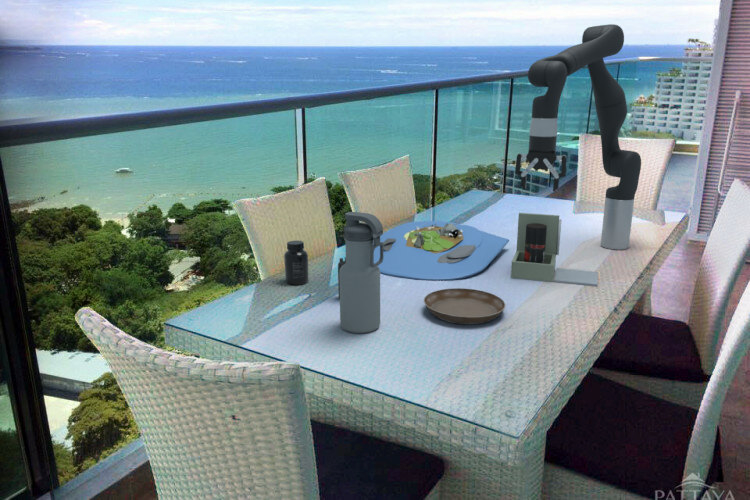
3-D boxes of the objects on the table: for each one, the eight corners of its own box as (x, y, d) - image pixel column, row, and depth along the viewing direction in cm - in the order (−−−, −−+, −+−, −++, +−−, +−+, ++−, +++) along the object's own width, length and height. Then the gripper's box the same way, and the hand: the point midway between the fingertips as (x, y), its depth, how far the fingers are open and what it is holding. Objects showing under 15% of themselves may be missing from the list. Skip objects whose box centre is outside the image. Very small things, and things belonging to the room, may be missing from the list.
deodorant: (543, 277, 189) (547, 228, 185) (523, 276, 190) (526, 227, 186) (542, 271, 195) (546, 223, 191) (522, 270, 196) (526, 222, 192)
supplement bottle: (312, 279, 188) (311, 240, 185) (302, 286, 182) (301, 246, 179) (291, 276, 191) (290, 238, 187) (281, 284, 184) (279, 244, 181)
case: (515, 265, 201) (519, 212, 196) (557, 268, 197) (562, 215, 192) (510, 277, 189) (514, 222, 184) (555, 282, 185) (559, 225, 180)
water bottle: (388, 322, 157) (388, 211, 149) (371, 337, 148) (370, 221, 141) (351, 316, 161) (349, 208, 153) (333, 330, 153) (330, 216, 145)
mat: (556, 269, 196) (556, 267, 196) (597, 273, 192) (597, 271, 192) (554, 282, 185) (554, 280, 185) (597, 286, 182) (597, 284, 181)
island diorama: (461, 306, 182) (461, 267, 177) (337, 279, 203) (333, 243, 198) (516, 248, 216) (517, 214, 211) (405, 230, 238) (403, 198, 233)
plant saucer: (486, 296, 175) (487, 284, 174) (518, 325, 156) (519, 312, 155) (414, 302, 171) (414, 290, 170) (437, 332, 152) (438, 319, 151)
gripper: (569, 133, 182) (565, 189, 187) (519, 131, 186) (515, 186, 191) (568, 136, 175) (563, 194, 180) (516, 134, 180) (512, 191, 184)
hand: (539, 190), depth 185 cm, fingers open, 8 cm apart
